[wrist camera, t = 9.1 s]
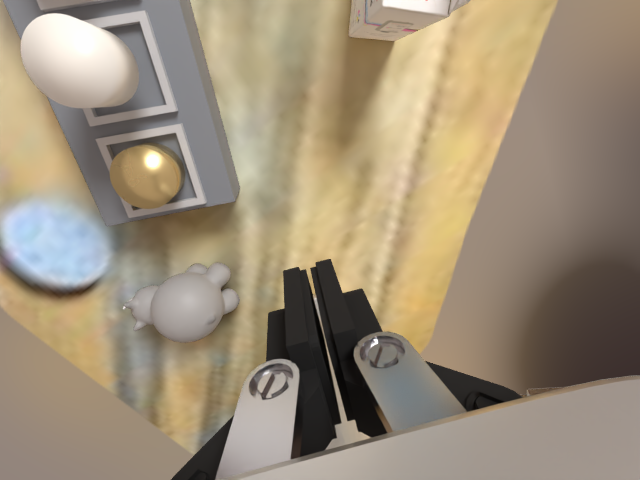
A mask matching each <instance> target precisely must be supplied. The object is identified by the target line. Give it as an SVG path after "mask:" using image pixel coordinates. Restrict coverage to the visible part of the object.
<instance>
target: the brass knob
mask: <svg viewBox="0 0 640 480" xmlns="http://www.w3.org/2000/svg"><path fill="white" fill-rule="evenodd" d="M110 180H111V183H112V186H113V188H114V189H115V191H116V192H117V194H118V195H119V196H120V197H121V198H122V199H123V200H124V201H126V202H127V203H129V204H131V205H133V206H135V207H138V208H143V209H154V208H158V207H161V206H163V205H165V204H166V203H168V202H169V201H170V200H171V199H172V198H173V197H174V196H175V195H176V194H177V193H178V192H179V191H180V190H181V188H182V187H183V185H184V182H185V168H184V165H183V163H182V161H181V159H180V158H179V156H178V155H177V154H176V153H175V152H174V151H173V150H171V149H170V148H168V147H167V146H165V145H162V144H159V143H152V142H149V143H143V144H140V145H137V146H134V147H131V148H128V149H125V150H123V151H121V152H120V153H119V154H117V155H116V157H115V158H114V159H113V161H112V163H111V166H110Z"/></svg>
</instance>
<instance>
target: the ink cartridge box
mask: <svg viewBox="0 0 640 480" xmlns="http://www.w3.org/2000/svg"><path fill="white" fill-rule="evenodd" d="M469 1H470V0H352V4H351V14H350V24H349V37H354V38H367V39H378V40H388V41H397V40H399V39H401V38H403V37H405V36H407V35H409V34H412V33H414V32H416V31H418V30H420V29H423V28H425V27H427V26H429V25H431V24H433V23H436V22H438V21H440V20H442V19H445V18H447V17H449V15H450V14H451V12H453V11H454V10H456V9H458V8H460V7H461V6H463V5H465V4H467V3H468V2H469Z"/></svg>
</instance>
